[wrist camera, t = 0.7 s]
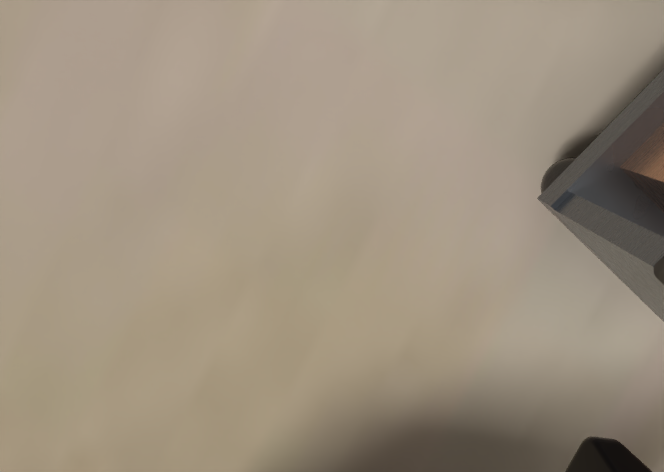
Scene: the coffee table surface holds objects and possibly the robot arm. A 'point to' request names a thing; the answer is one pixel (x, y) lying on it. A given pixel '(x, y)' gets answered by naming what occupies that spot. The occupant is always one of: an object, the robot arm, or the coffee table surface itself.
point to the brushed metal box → (619, 195)
